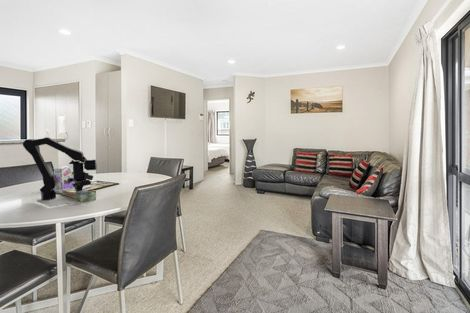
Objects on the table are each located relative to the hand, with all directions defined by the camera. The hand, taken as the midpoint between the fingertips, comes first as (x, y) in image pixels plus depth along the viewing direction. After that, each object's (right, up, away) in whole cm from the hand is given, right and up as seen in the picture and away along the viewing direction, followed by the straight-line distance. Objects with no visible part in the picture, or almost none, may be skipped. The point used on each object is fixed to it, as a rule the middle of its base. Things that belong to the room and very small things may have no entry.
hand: (79, 194), depth 164 cm
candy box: (-27, 0, +25) cm, 37 cm away
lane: (+1, -2, +3) cm, 4 cm away
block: (+4, -2, -2) cm, 4 cm away
